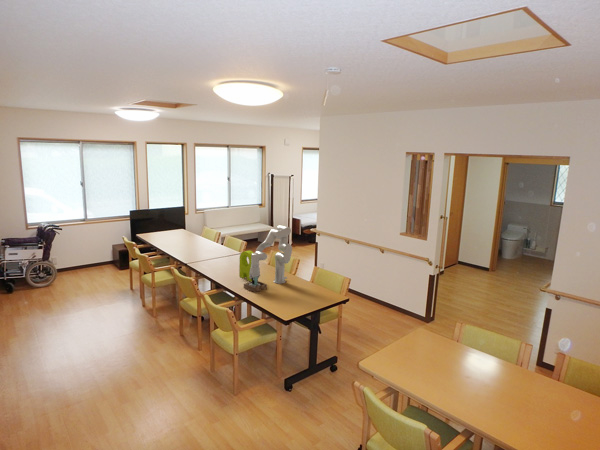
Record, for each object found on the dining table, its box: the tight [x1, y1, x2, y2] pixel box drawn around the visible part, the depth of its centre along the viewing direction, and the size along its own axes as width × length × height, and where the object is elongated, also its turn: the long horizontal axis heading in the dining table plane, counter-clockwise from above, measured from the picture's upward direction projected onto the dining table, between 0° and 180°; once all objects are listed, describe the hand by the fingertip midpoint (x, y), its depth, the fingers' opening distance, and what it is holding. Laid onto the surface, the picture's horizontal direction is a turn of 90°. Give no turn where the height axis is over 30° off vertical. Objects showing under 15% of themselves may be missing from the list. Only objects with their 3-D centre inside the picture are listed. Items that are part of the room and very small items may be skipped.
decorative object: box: [238, 250, 254, 282], centre depth 397 cm, size 20×7×30 cm, turn 47°
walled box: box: [243, 280, 268, 293], centre depth 371 cm, size 16×16×4 cm
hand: (254, 283), depth 371 cm, fingers closed on connector, 3 cm apart
